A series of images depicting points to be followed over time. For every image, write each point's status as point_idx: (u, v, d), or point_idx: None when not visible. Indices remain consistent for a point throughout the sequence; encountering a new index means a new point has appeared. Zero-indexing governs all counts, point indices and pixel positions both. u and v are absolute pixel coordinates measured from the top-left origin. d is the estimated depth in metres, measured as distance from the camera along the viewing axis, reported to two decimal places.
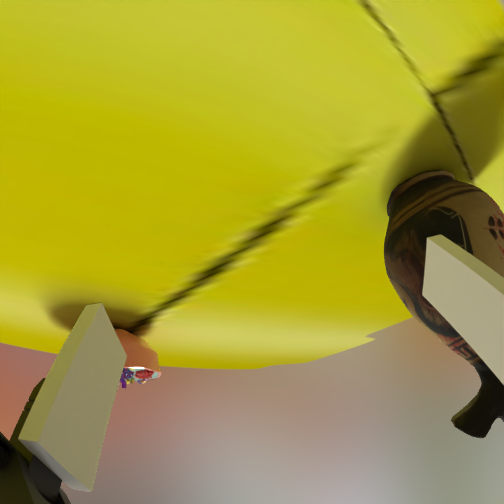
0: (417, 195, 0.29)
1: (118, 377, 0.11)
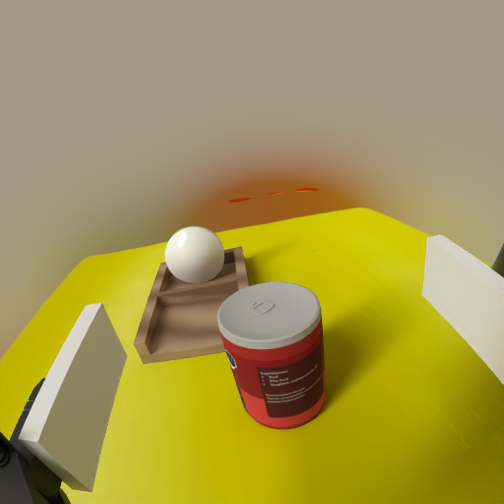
0: None
1: (118, 377, 0.11)
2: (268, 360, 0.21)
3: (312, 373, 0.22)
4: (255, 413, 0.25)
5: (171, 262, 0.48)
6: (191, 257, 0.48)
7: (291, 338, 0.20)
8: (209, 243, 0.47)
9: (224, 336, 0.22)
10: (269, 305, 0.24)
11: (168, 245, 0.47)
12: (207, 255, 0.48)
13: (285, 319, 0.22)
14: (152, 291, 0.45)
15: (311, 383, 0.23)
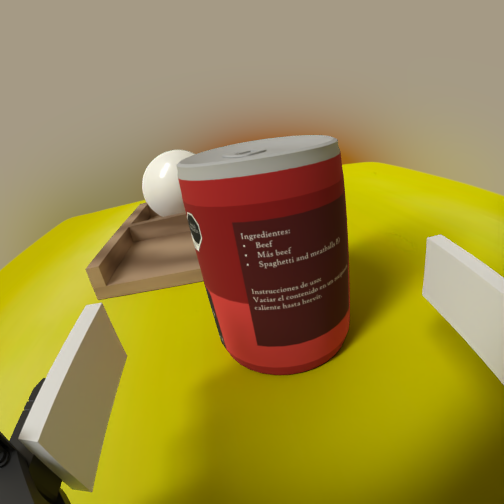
0: None
1: (118, 377, 0.11)
2: (254, 203, 0.12)
3: (332, 252, 0.14)
4: (236, 342, 0.16)
5: (149, 193, 0.39)
6: (173, 186, 0.39)
7: (293, 155, 0.11)
8: None
9: (182, 179, 0.13)
10: (259, 150, 0.15)
11: (146, 171, 0.38)
12: None
13: None
14: (123, 224, 0.37)
15: (331, 274, 0.14)
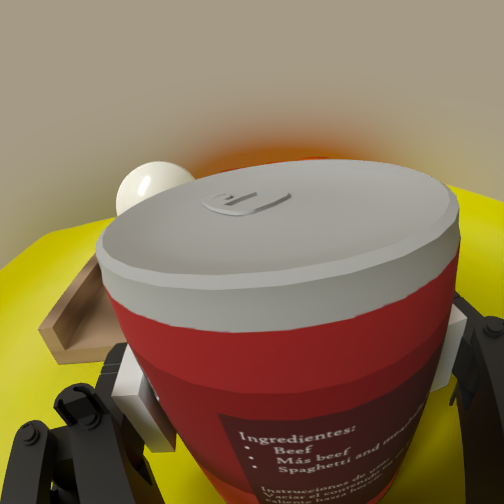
0: None
1: None
2: (276, 391, 0.04)
3: (417, 416, 0.06)
4: None
5: None
6: None
7: (401, 264, 0.03)
8: None
9: (103, 281, 0.05)
10: (275, 195, 0.07)
11: (120, 189, 0.30)
12: None
13: (338, 218, 0.06)
14: (93, 257, 0.29)
15: (404, 443, 0.06)
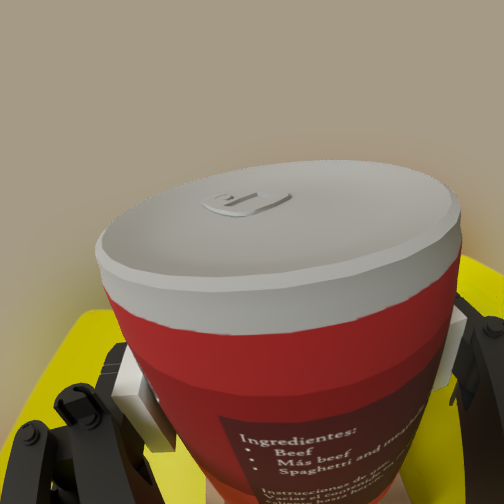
0: None
1: None
2: (277, 394, 0.04)
3: (417, 417, 0.06)
4: None
5: None
6: None
7: (403, 266, 0.03)
8: None
9: (103, 282, 0.05)
10: (276, 196, 0.07)
11: None
12: None
13: (339, 219, 0.06)
14: None
15: (405, 445, 0.06)
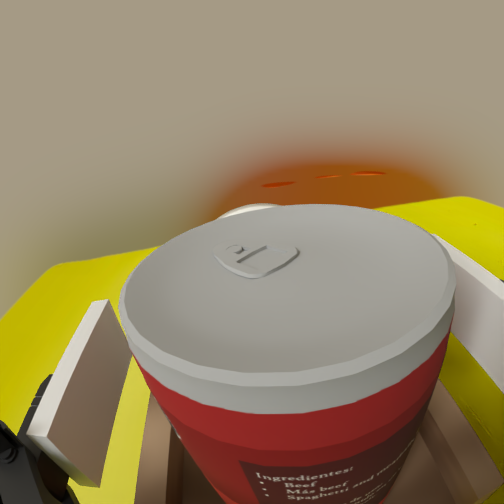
0: None
1: (124, 373, 0.11)
2: (288, 449, 0.04)
3: (408, 449, 0.06)
4: None
5: None
6: None
7: (397, 359, 0.04)
8: None
9: (129, 346, 0.06)
10: (285, 253, 0.08)
11: None
12: None
13: (345, 288, 0.06)
14: None
15: (396, 469, 0.07)
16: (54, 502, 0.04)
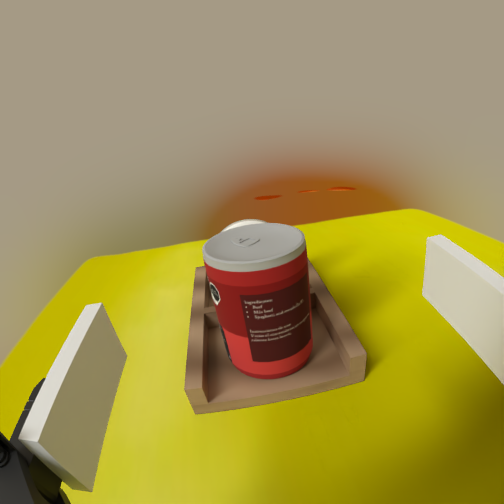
0: None
1: (118, 377, 0.11)
2: (252, 285, 0.21)
3: (298, 308, 0.23)
4: (239, 359, 0.25)
5: None
6: None
7: (275, 260, 0.21)
8: None
9: (208, 264, 0.23)
10: (255, 240, 0.25)
11: None
12: None
13: (270, 249, 0.23)
14: (193, 307, 0.34)
15: (297, 321, 0.23)
16: None
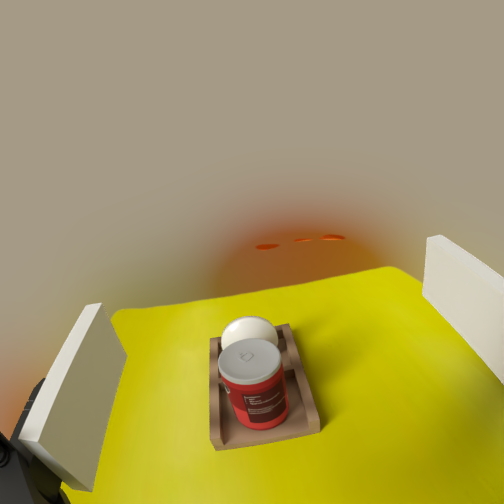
0: None
1: (118, 377, 0.11)
2: (248, 390, 0.34)
3: (276, 397, 0.36)
4: (242, 420, 0.38)
5: None
6: None
7: (261, 379, 0.34)
8: (265, 332, 0.49)
9: (222, 375, 0.36)
10: (250, 356, 0.38)
11: (225, 334, 0.48)
12: None
13: (259, 366, 0.36)
14: (211, 377, 0.47)
15: (276, 403, 0.36)
16: None
